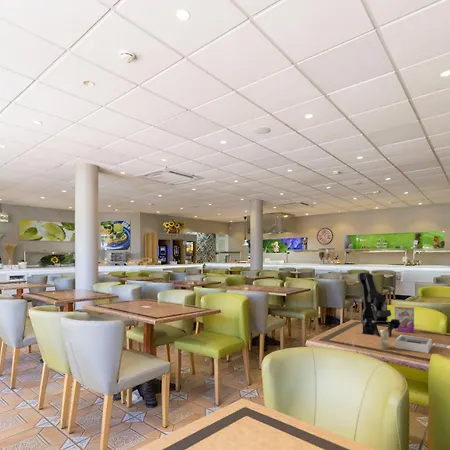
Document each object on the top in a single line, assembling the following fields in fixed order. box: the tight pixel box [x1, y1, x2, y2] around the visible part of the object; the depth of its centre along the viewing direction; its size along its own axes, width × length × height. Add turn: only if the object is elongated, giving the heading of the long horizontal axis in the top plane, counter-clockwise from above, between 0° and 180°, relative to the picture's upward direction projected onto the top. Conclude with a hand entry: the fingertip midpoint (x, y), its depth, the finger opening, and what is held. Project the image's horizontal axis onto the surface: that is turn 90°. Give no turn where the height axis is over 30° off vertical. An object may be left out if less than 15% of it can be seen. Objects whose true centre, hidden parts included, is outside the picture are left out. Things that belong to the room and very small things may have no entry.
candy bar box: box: [394, 305, 415, 334], centre depth 230 cm, size 11×5×16 cm, turn 58°
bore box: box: [394, 334, 433, 354], centre depth 195 cm, size 16×16×4 cm
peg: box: [379, 328, 390, 351], centre depth 193 cm, size 4×4×10 cm
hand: (385, 336), depth 192 cm, fingers open, 6 cm apart
